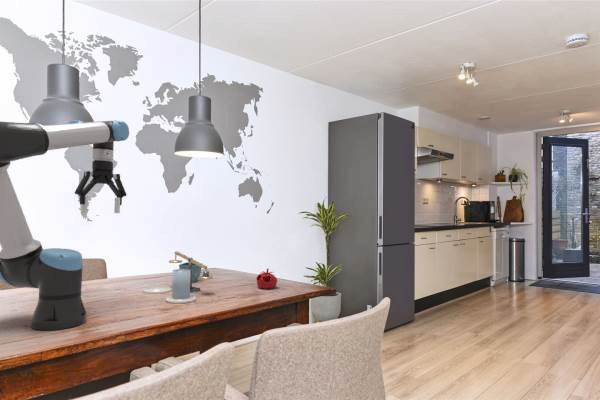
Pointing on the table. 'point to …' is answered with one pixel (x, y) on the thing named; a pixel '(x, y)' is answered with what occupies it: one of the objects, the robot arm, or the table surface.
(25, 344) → the table surface
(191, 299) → the dish low
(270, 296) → the table surface
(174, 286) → the cup
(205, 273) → the balance
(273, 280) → the pomegranate
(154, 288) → the dish high
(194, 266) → the flower pot
